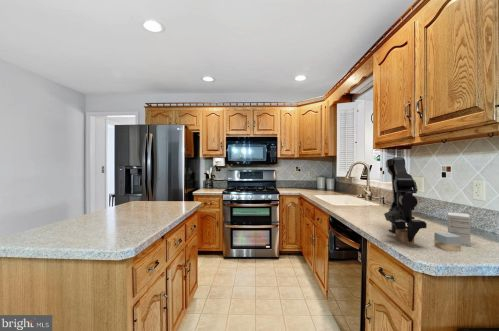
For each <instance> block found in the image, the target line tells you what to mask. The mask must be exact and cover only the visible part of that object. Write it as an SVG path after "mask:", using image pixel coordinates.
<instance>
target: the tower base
mask: <svg viewBox="0 0 499 331" xmlns="http://www.w3.org/2000/svg"><path fill="white" fill-rule="evenodd" d="M433 242H434V244H433V245H434V247H436V248H438V249H441V250H443V251H445V252H460V251H462V245H461V244H444V243H442V242H439V241H437V240H435V239H434V241H433Z"/></svg>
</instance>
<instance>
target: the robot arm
mask: <svg viewBox="0 0 499 331" xmlns="http://www.w3.org/2000/svg"><path fill="white" fill-rule="evenodd" d="M385 167H386V168H387V173H388V174H389V175H390V176H391V192H392V203H391V205H390V206H389V209H388V212H384V213H383V215H384V217H385V221H388V222H389V223H391V229H388V231H389V232H390V233H391V232H392V233H393V234H396V229H407V231H408V240H409V242H412V240H413V238H414V239H415V236H416V235H417V234H418V232H419V230H421V229H427V228H428V227H427V226H428V224H427V222H426V221H425V220H421V219H416V218H415V216H413V211H415V208H416V207H417V205H418V202H419V201H418V199H417V197H416V196H414V195H413V194H417V193H418V185H417V183H416V181H415V179H414V178H413V176H412V175H411V174H410V173H408V172H407V169H406V159H405V158H404V157H402V156H401V157H400V156H398V157H395V156H394V157H392V158H388V159H386V161H385Z"/></svg>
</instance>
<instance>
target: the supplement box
mask: <svg viewBox="0 0 499 331" xmlns="http://www.w3.org/2000/svg"><path fill="white" fill-rule="evenodd" d="M447 232H449V233H452V234H455V235H458V236H461V246H465V247H471V240H472V239H471V216H470V215H469V213H462V212H460V213H459V212H447Z"/></svg>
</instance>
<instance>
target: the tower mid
mask: <svg viewBox="0 0 499 331" xmlns="http://www.w3.org/2000/svg"><path fill="white" fill-rule="evenodd" d="M433 234H434V240H437V241H439V242H442V243H444V244H461V236H458V235H455V234H452V233H449V232H448V231H447V232H443V231H442V232H434V233H433Z"/></svg>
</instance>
